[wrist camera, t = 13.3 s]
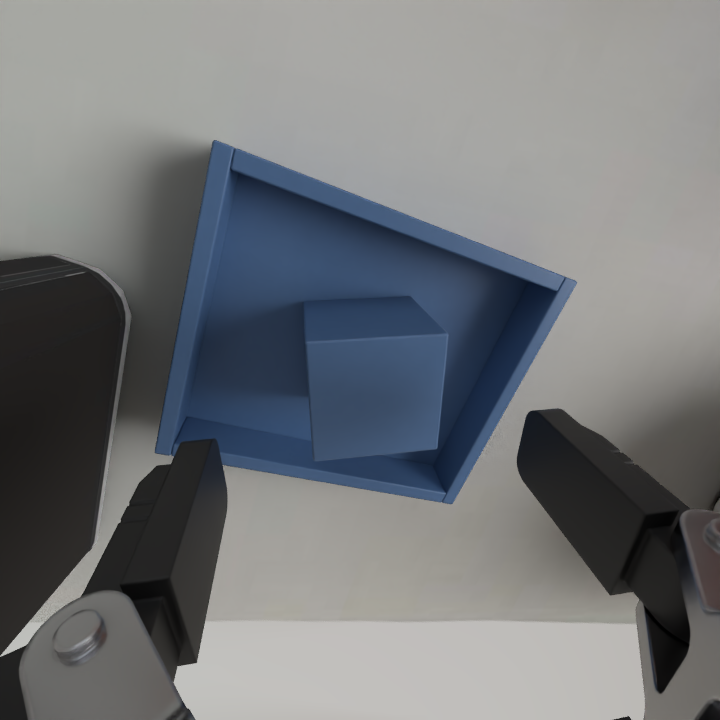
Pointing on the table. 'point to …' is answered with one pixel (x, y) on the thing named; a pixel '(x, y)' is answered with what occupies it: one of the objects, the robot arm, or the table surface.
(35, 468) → the camera
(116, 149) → the table surface
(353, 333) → the blue block
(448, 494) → the blue tray
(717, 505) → the bowl
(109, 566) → the robot arm
